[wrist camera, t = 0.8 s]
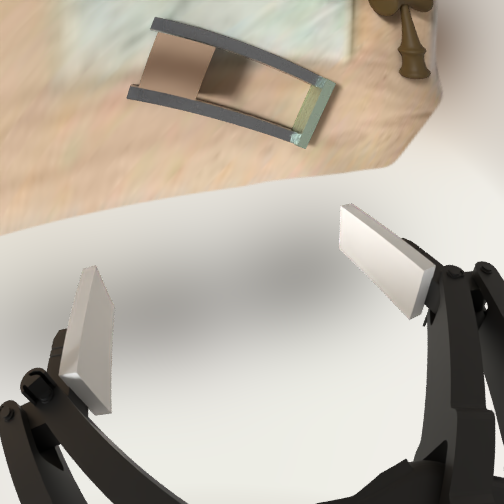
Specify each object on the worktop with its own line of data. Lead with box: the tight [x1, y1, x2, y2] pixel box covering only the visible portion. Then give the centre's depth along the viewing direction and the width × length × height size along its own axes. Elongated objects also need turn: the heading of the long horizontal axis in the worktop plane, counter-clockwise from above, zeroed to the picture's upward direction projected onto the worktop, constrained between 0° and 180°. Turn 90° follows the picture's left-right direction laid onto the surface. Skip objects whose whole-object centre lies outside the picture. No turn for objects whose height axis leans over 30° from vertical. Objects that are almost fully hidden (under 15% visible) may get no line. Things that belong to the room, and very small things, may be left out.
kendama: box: [369, 0, 433, 79], centre depth 29 cm, size 6×10×20 cm
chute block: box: [139, 32, 216, 100], centre depth 27 cm, size 6×6×6 cm
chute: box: [127, 17, 336, 149], centre depth 32 cm, size 10×24×3 cm, turn 68°
